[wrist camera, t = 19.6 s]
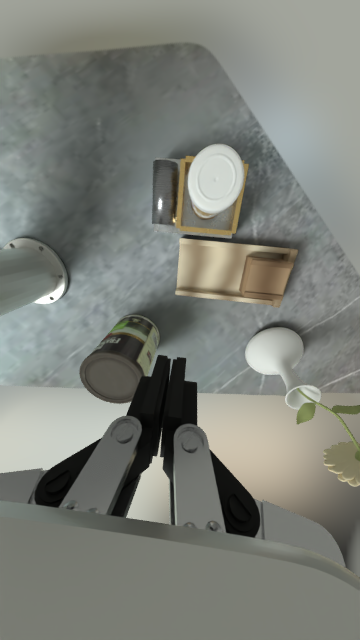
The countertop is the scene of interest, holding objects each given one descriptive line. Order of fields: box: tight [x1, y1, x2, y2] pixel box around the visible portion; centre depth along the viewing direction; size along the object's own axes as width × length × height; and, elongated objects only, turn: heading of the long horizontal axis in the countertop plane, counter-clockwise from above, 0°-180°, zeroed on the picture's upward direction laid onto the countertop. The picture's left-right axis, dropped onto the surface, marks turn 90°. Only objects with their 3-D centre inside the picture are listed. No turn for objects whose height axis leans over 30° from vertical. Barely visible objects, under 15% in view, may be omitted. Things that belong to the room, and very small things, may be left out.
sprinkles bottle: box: [188, 144, 244, 220], centre depth 21 cm, size 5×5×14 cm
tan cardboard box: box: [239, 256, 294, 301], centre depth 32 cm, size 6×6×4 cm
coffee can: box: [80, 315, 160, 404], centre depth 36 cm, size 10×10×14 cm
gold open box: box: [152, 156, 249, 239], centre depth 28 cm, size 12×9×7 cm
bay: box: [175, 238, 298, 308], centre depth 33 cm, size 18×10×4 cm, turn 85°
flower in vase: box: [245, 327, 360, 486], centre depth 29 cm, size 13×11×25 cm
